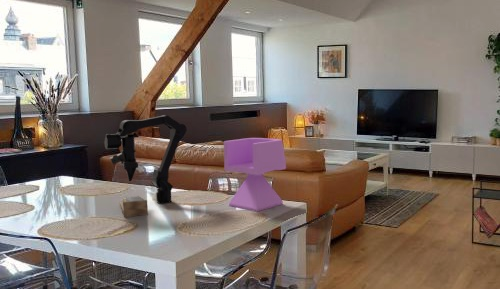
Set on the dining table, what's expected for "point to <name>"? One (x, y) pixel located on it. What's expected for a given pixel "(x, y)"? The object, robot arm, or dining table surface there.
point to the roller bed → (122, 204)
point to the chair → (254, 170)
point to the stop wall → (135, 208)
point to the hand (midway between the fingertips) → (130, 181)
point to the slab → (133, 198)
